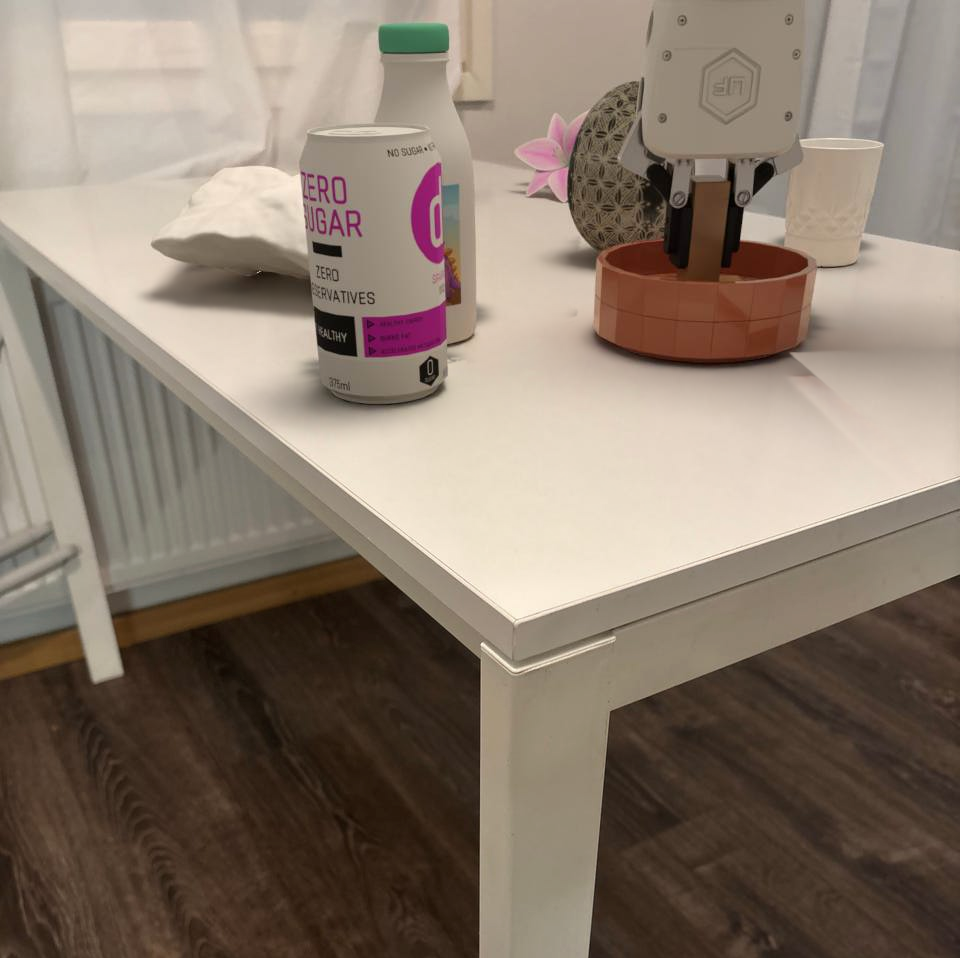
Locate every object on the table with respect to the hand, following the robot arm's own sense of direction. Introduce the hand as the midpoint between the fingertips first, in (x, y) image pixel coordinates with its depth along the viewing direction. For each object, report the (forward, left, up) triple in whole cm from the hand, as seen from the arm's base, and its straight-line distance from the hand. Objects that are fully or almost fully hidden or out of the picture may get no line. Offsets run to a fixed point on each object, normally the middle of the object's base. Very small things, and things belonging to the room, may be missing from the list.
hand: (699, 261), depth 73 cm
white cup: (-18, -23, -5) cm, 30 cm away
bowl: (0, +1, -5) cm, 5 cm away
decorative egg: (0, -26, -5) cm, 27 cm away
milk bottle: (+20, -2, -5) cm, 21 cm away
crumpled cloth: (+32, -23, -5) cm, 40 cm away
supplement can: (+23, +10, -5) cm, 25 cm away
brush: (0, 0, -4) cm, 4 cm away
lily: (+1, -64, -5) cm, 65 cm away
